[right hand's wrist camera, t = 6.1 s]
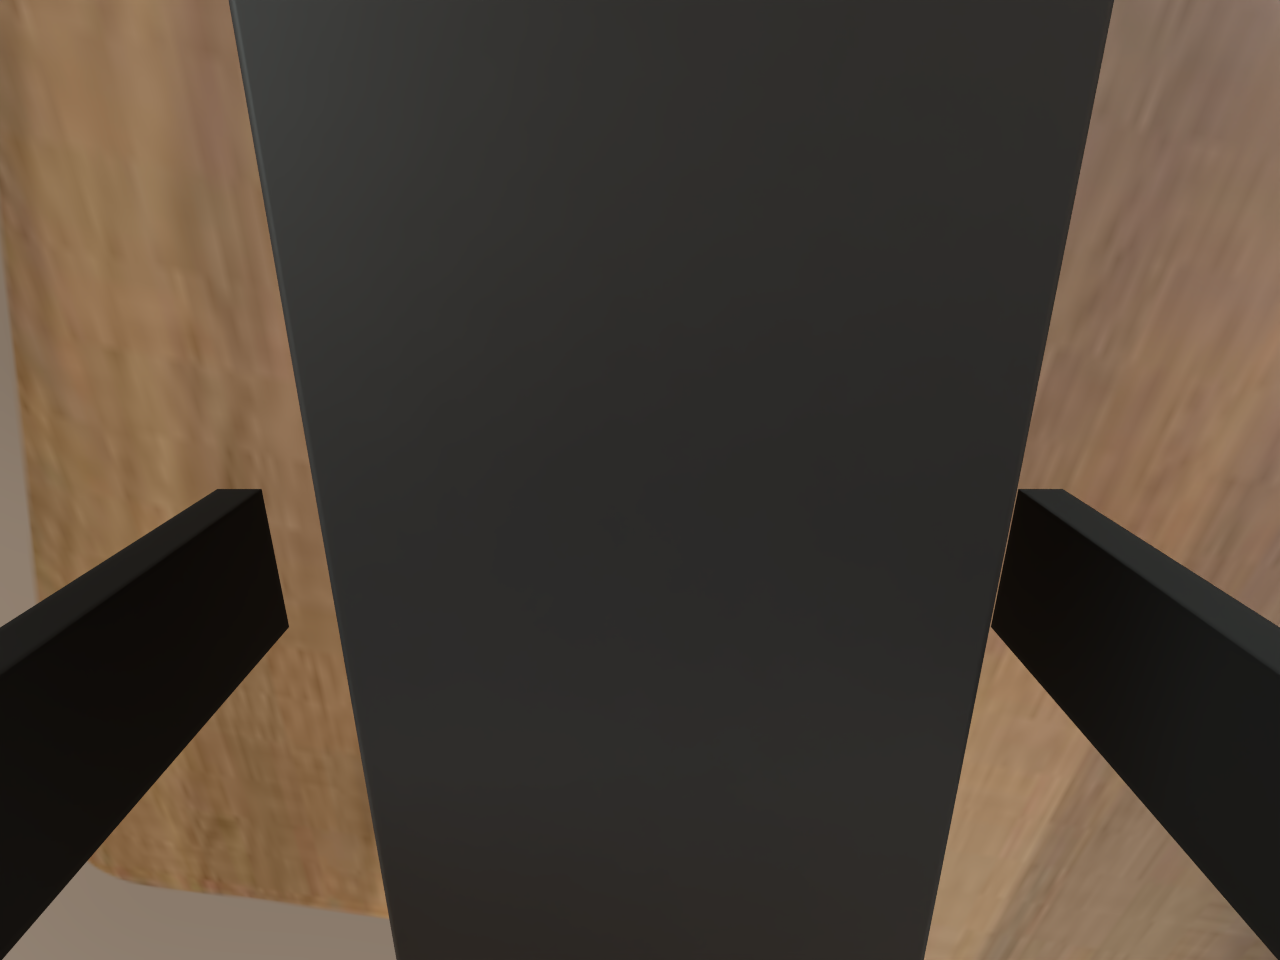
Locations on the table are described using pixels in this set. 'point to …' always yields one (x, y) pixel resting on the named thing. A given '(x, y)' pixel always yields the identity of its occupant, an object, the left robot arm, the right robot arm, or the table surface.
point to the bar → (666, 439)
